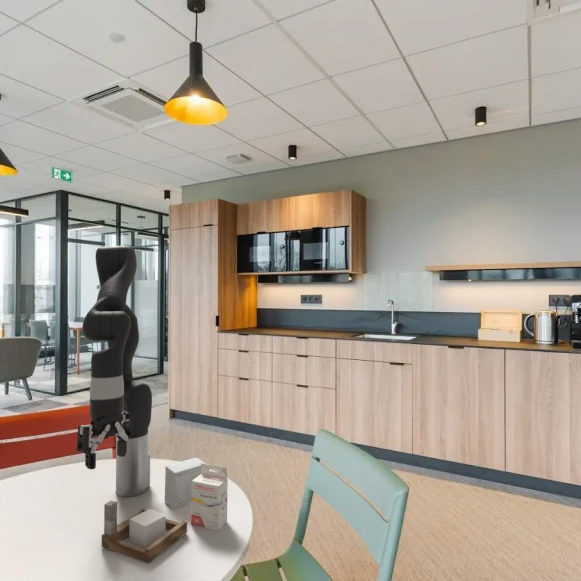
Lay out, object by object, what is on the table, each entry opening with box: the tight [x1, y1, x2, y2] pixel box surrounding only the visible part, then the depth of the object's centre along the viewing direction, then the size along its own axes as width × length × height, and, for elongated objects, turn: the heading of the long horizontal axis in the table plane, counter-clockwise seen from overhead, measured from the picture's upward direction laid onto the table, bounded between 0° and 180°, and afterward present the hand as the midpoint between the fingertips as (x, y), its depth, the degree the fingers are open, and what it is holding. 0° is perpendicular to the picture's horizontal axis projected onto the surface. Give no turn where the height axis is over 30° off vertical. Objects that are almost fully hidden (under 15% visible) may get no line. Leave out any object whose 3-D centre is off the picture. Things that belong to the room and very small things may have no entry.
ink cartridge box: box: [190, 463, 229, 532], centre depth 112 cm, size 9×5×15 cm, turn 71°
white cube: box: [128, 508, 167, 549], centre depth 104 cm, size 6×6×6 cm
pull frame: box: [101, 500, 188, 564], centre depth 104 cm, size 13×15×10 cm
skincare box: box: [164, 457, 207, 510], centre depth 125 cm, size 10×6×10 cm, turn 132°
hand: (106, 462), depth 102 cm, fingers open, 8 cm apart
